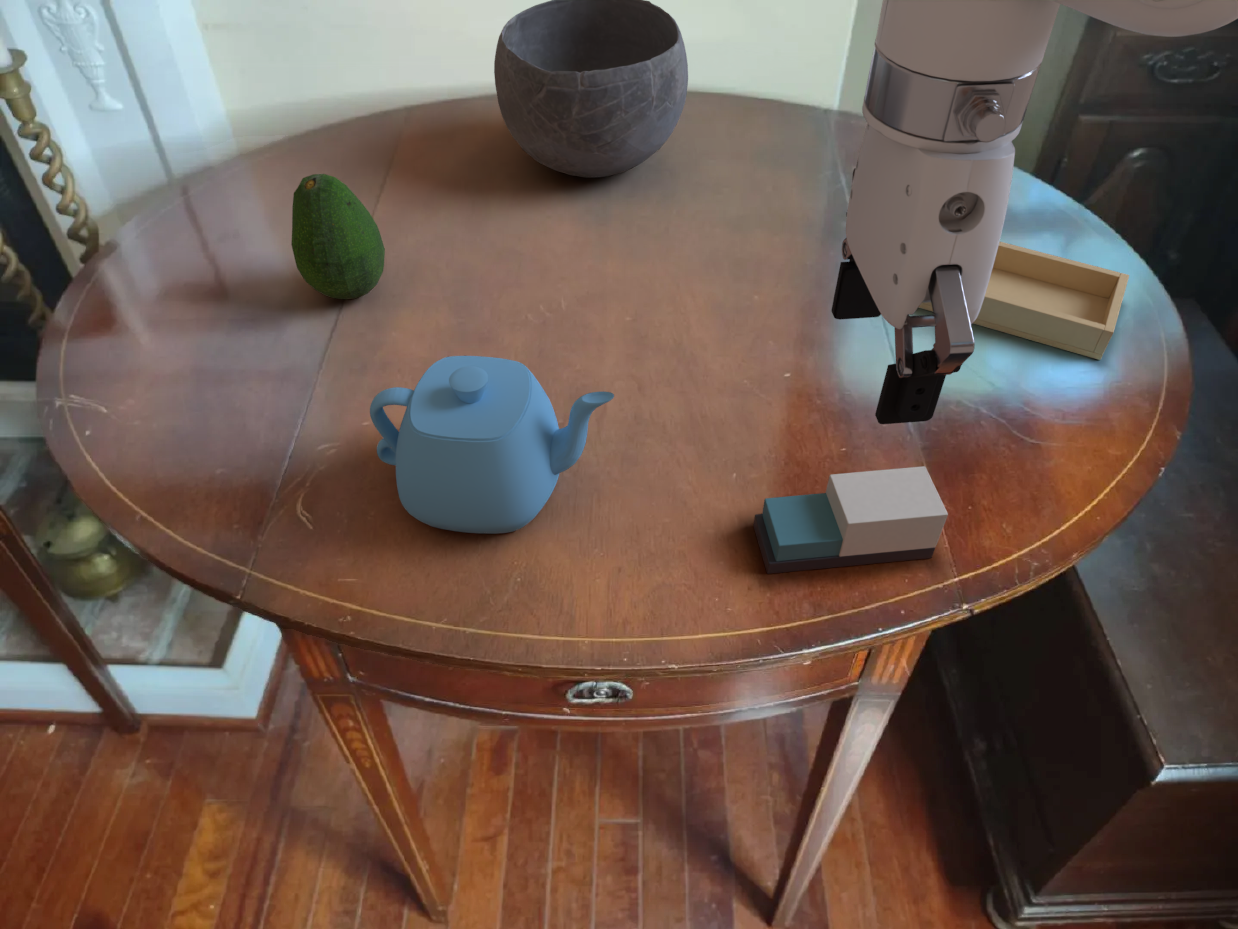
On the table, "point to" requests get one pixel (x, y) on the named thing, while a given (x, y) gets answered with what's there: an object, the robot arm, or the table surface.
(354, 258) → the fruit
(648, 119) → the bowl
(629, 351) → the table surface
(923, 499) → the two-tone stepped block
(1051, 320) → the wooden tray
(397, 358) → the table surface
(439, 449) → the teapot
